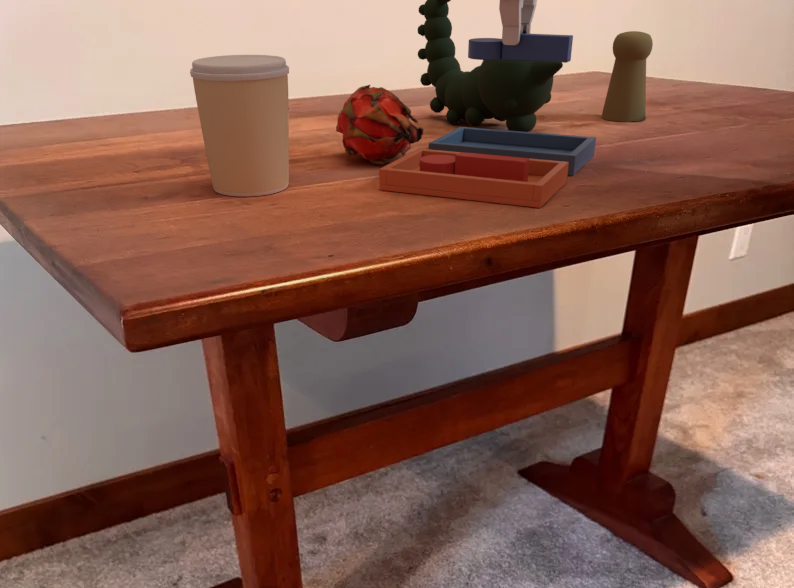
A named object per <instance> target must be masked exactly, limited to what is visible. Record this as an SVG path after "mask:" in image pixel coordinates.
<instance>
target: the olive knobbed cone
mask: <svg viewBox="0 0 794 588" xmlns="http://www.w3.org/2000/svg"><path fill="white" fill-rule="evenodd" d="M653 44H654V43H653V38H652V36H651V35H650V34H649V33H647V32H643V31H639V30H637V31H636V30H632V31H631V30H630V31H624V32H620V33H618V34H617V35H616V36H615V38H614V40H613V43H612V54H613V57H614V58H615V59H614V63H613V66H612V67H613V68H612V72H611V75H610V80H609V83H608V88H607V92H606V95H605V100H604V104H603V109H602V112H601V115H600V117H601V119H603V120H605V121H611V122H620V123H621V122H622V123H631V121H635V122H641V121H640V120H642V121H645V120H646V106H647V105H646V103H647V102H646V99H647V98H646V97H647V95H646V93H647V59H648V58H649V56H651V53H652V50H653V46H654V45H653Z"/></svg>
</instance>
